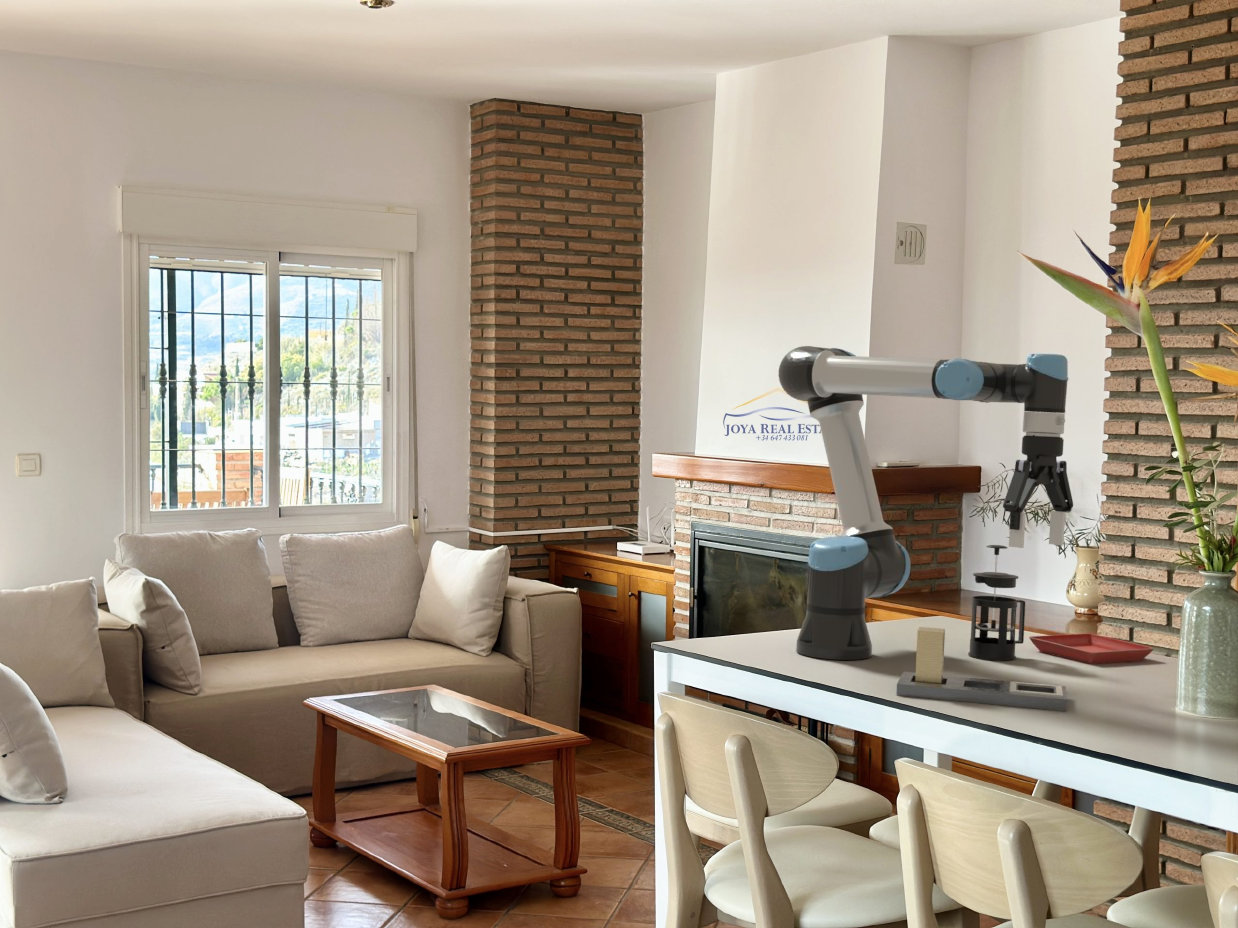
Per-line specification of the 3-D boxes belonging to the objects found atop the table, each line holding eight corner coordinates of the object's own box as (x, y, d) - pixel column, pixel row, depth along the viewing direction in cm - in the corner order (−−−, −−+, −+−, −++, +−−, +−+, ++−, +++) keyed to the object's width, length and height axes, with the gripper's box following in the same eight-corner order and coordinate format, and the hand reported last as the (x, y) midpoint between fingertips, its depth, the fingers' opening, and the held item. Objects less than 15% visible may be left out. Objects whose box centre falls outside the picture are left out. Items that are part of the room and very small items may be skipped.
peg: (914, 692, 233) (917, 630, 232) (916, 688, 237) (919, 626, 237) (940, 695, 231) (943, 632, 231) (942, 690, 236) (944, 628, 235)
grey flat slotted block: (896, 694, 230) (897, 681, 230) (902, 682, 241) (903, 669, 241) (1066, 711, 222) (1067, 697, 222) (1065, 697, 233) (1065, 684, 233)
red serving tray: (1155, 662, 274) (1156, 646, 274) (1090, 667, 266) (1091, 651, 266) (1088, 647, 290) (1089, 632, 290) (1026, 651, 282) (1026, 636, 282)
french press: (977, 661, 267) (982, 547, 266) (957, 652, 276) (962, 542, 275) (1031, 661, 269) (1037, 548, 268) (1010, 652, 278) (1015, 543, 277)
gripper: (1023, 434, 242) (1016, 550, 243) (1096, 437, 258) (1089, 545, 259) (988, 432, 248) (981, 545, 249) (1061, 435, 264) (1054, 541, 265)
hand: (1036, 546), depth 254 cm, fingers open, 13 cm apart
